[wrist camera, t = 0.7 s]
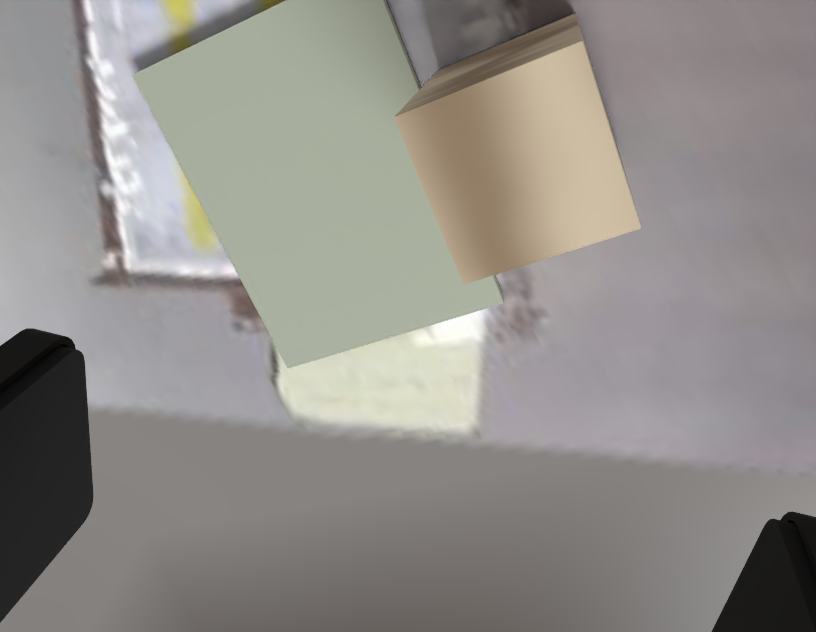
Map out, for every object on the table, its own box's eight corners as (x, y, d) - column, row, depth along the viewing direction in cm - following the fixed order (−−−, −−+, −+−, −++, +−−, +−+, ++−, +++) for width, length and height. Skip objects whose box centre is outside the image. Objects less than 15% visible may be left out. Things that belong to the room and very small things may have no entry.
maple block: (575, 12, 30) (582, 40, 22) (618, 150, 33) (641, 228, 24) (438, 69, 32) (393, 117, 24) (487, 196, 34) (463, 284, 26)
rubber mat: (370, -40, 31) (367, -40, 31) (504, 298, 36) (503, 303, 36) (137, 73, 35) (131, 74, 34) (291, 363, 40) (287, 368, 40)
